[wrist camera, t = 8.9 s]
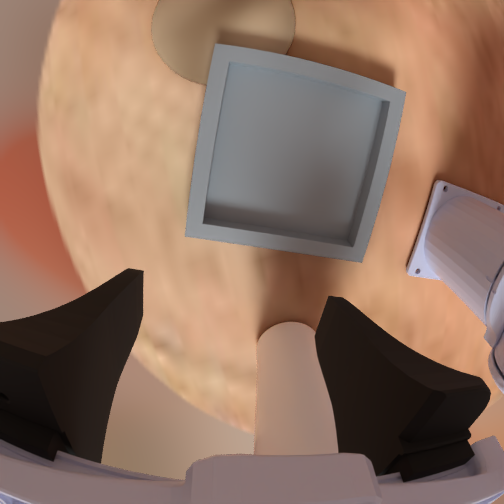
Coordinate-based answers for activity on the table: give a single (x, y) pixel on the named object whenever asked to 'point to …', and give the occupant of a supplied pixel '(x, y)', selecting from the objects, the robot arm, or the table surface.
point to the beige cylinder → (291, 395)
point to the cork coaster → (218, 31)
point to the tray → (291, 154)
